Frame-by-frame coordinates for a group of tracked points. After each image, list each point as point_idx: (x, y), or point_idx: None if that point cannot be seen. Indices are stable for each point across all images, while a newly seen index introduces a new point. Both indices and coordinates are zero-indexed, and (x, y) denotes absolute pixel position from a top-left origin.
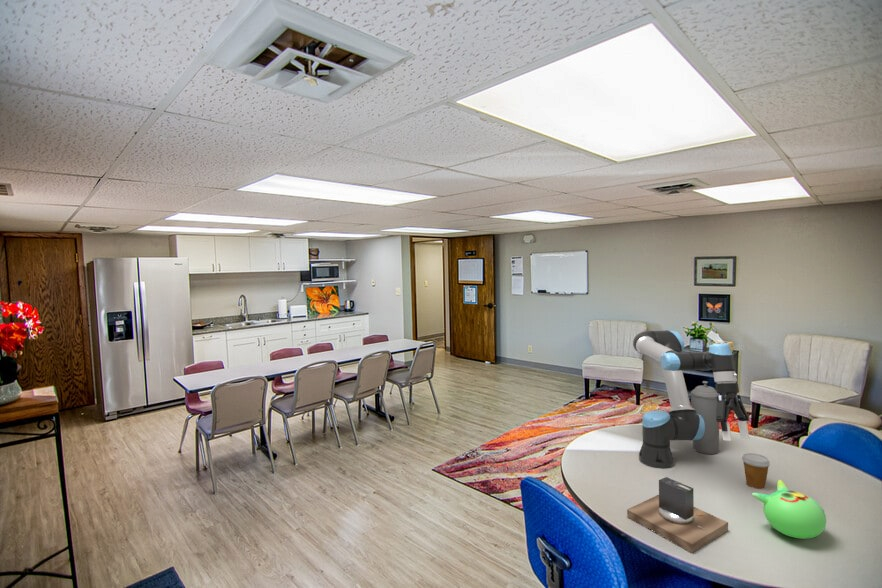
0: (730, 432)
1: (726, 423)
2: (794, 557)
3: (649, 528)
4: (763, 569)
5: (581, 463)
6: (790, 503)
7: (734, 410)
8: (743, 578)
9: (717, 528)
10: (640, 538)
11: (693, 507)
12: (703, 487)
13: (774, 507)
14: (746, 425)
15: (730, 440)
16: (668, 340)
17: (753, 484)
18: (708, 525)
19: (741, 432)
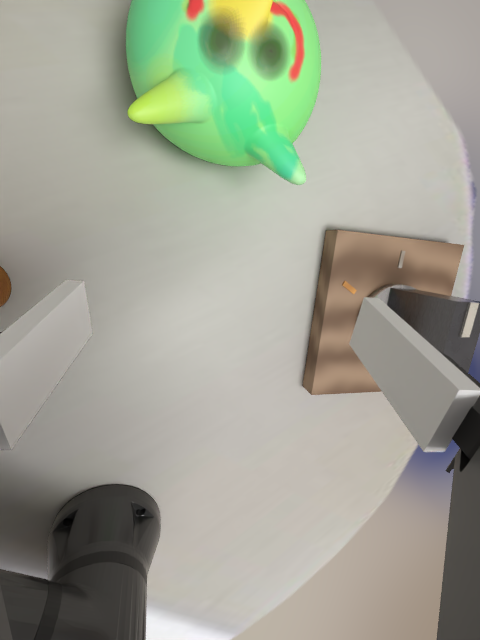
0: (396, 327)
1: (465, 394)
2: (329, 78)
3: None
4: (415, 123)
5: (282, 575)
6: (306, 37)
7: (7, 634)
8: (462, 145)
9: (379, 235)
10: None
11: (407, 291)
12: (155, 369)
13: (311, 106)
14: (6, 341)
15: (377, 302)
16: None
17: (5, 282)
18: (380, 254)
19: (72, 348)
